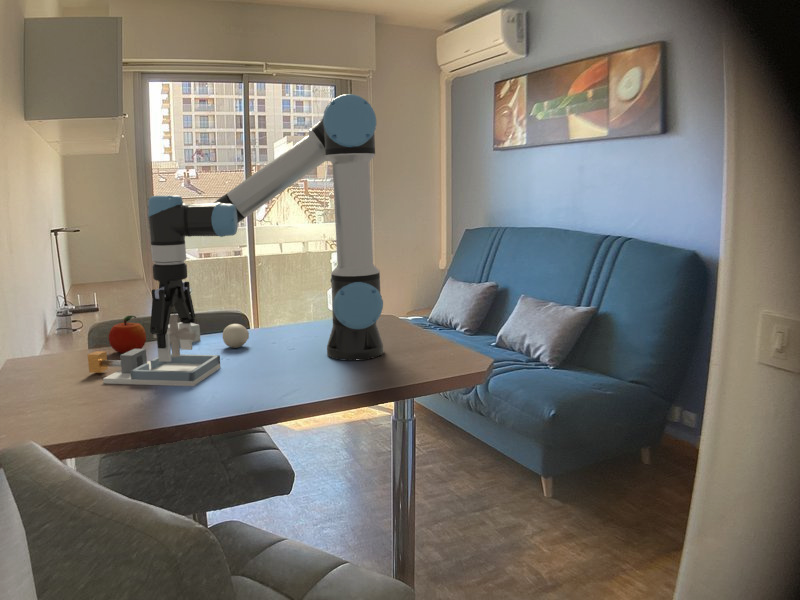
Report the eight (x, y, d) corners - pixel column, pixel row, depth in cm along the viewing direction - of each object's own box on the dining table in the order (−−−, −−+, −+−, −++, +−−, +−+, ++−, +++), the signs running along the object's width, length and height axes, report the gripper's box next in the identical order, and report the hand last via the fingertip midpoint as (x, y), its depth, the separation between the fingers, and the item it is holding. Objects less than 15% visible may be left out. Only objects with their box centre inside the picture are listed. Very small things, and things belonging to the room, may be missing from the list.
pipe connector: (184, 362, 145) (181, 320, 143) (145, 360, 147) (141, 318, 145) (205, 351, 155) (203, 311, 153) (168, 350, 157) (165, 310, 155)
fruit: (101, 354, 172) (98, 318, 170) (128, 346, 181) (125, 312, 179) (128, 358, 168) (125, 321, 167) (154, 349, 177) (151, 314, 175)
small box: (201, 341, 187) (200, 324, 186) (177, 346, 181) (175, 329, 180) (187, 337, 192) (186, 320, 191) (163, 342, 186) (161, 325, 185)
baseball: (253, 347, 178) (252, 324, 177) (228, 351, 174) (226, 327, 173) (244, 342, 183) (243, 320, 182) (220, 346, 179) (218, 323, 178)
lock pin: (139, 369, 155) (138, 352, 154) (132, 373, 151) (130, 355, 151) (97, 368, 156) (95, 351, 155) (89, 372, 153) (87, 354, 152)
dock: (220, 367, 158) (219, 345, 157) (193, 386, 143) (191, 362, 142) (138, 365, 161) (136, 344, 160) (103, 383, 146) (101, 360, 145)
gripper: (177, 257, 158) (183, 343, 162) (127, 268, 136) (135, 367, 140) (205, 257, 157) (211, 343, 161) (160, 268, 135) (167, 368, 139)
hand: (176, 355), depth 151 cm, fingers closed on pipe connector, 10 cm apart
